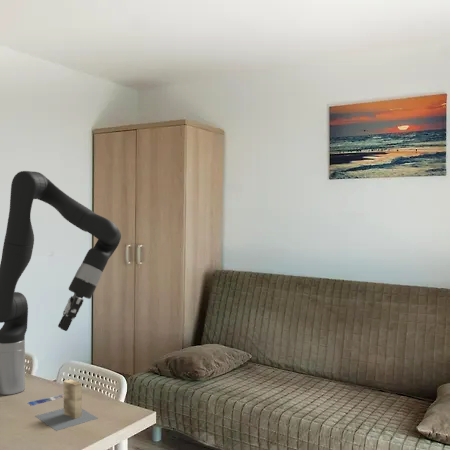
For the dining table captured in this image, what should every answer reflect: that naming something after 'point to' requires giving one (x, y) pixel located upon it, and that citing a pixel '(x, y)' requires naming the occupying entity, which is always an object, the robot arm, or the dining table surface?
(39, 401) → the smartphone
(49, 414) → the mat
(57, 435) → the dining table surface
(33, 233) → the robot arm
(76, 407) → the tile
